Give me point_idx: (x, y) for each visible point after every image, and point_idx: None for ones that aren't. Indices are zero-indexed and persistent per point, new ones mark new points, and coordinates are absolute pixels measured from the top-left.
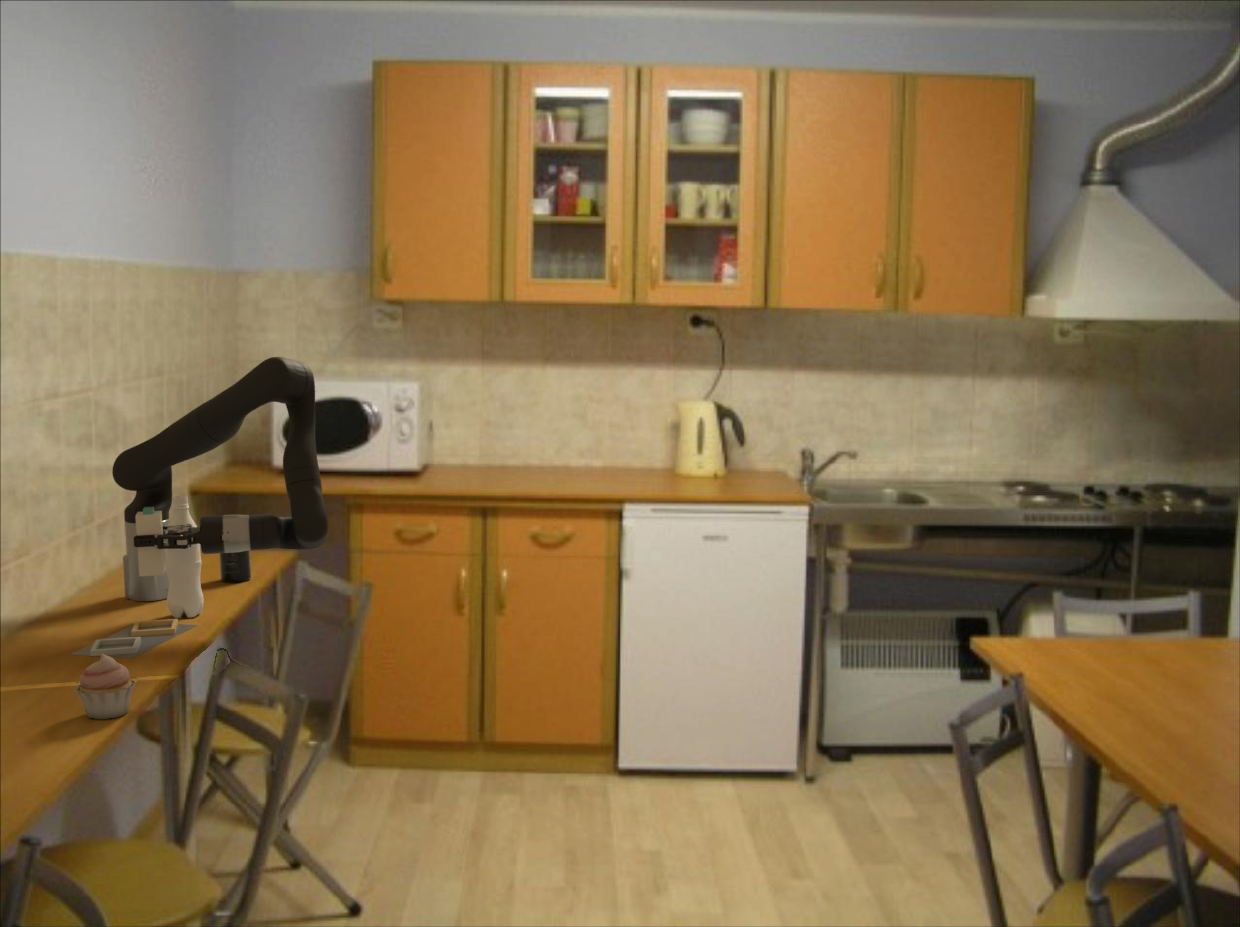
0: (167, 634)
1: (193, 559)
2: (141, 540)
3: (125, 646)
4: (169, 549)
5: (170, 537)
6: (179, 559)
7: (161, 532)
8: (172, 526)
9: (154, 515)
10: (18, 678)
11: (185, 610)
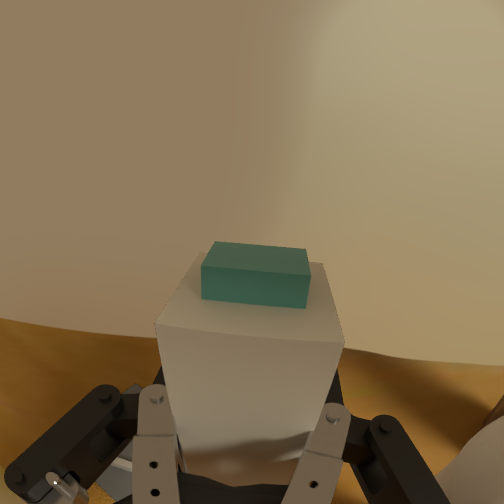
0: None
1: None
2: None
3: (131, 450)
4: (441, 474)
5: (53, 429)
6: None
7: (208, 421)
8: (321, 472)
9: (166, 306)
10: (87, 337)
11: None
